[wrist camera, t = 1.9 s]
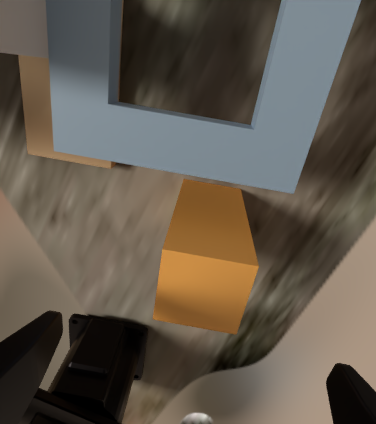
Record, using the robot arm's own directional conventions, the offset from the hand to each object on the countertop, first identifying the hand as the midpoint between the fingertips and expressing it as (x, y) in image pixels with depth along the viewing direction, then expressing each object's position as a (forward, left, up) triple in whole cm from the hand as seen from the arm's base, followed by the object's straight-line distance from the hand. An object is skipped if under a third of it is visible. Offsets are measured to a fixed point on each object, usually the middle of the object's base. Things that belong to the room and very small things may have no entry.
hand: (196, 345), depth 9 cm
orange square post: (0, 0, -10) cm, 10 cm away
